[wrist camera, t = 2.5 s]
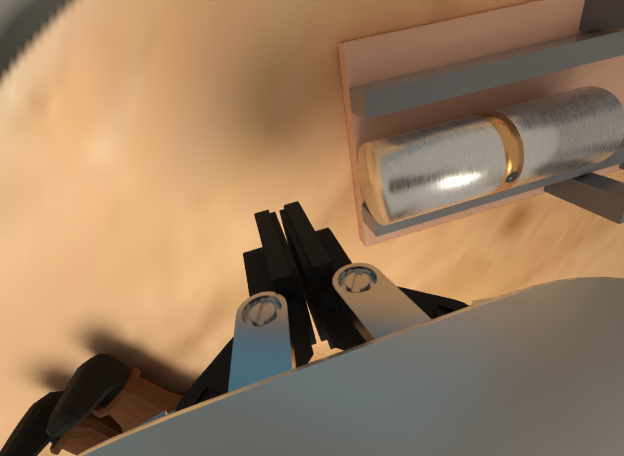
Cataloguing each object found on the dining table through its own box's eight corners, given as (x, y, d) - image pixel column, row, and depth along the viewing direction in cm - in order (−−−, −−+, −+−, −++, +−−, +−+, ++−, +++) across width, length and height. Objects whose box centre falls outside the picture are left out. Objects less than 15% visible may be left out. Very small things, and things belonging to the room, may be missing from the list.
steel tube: (569, 73, 19) (650, 107, 15) (538, 141, 22) (600, 181, 19) (357, 127, 17) (398, 177, 14) (357, 192, 20) (390, 245, 17)
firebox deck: (655, 151, 26) (767, 177, 20) (360, 239, 23) (403, 297, 17) (730, -41, 19) (919, -74, 14) (337, 43, 16) (394, 41, 11)
